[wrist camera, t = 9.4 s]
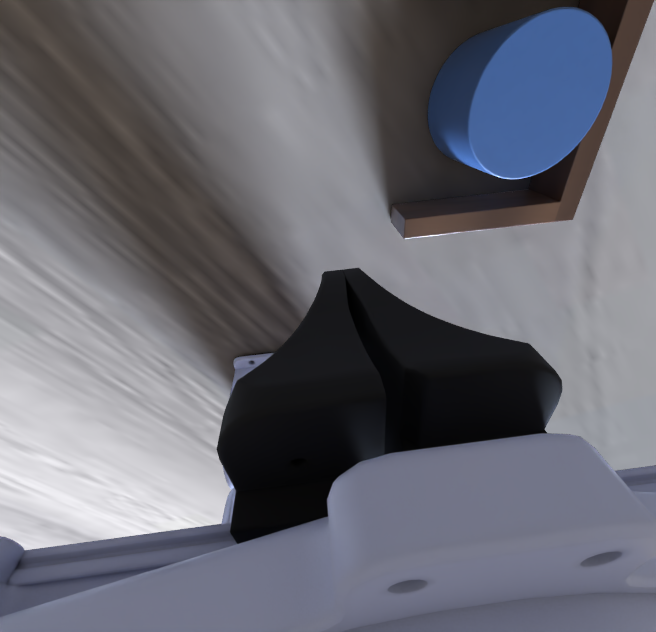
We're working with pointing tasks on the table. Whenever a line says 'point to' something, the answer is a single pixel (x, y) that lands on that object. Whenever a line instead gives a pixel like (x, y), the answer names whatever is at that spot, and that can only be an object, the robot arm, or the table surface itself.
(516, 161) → the puck
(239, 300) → the table surface
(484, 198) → the frame
